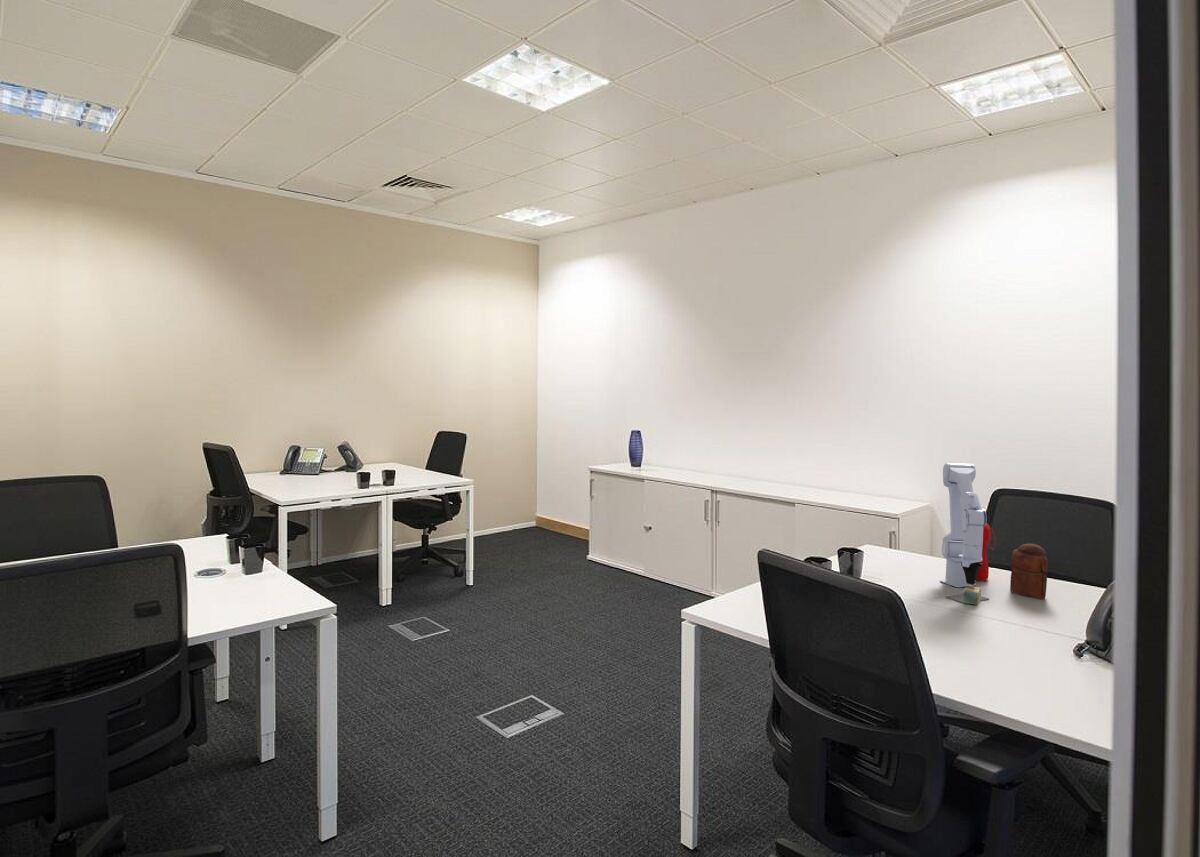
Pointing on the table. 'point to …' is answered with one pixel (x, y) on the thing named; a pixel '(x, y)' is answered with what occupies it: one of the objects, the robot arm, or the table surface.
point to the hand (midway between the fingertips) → (970, 583)
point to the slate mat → (961, 598)
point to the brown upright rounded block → (1029, 571)
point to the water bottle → (984, 555)
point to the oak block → (972, 595)
